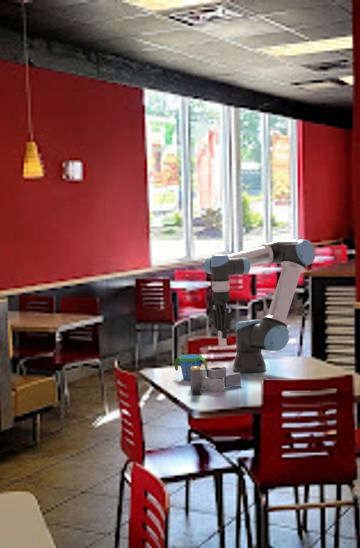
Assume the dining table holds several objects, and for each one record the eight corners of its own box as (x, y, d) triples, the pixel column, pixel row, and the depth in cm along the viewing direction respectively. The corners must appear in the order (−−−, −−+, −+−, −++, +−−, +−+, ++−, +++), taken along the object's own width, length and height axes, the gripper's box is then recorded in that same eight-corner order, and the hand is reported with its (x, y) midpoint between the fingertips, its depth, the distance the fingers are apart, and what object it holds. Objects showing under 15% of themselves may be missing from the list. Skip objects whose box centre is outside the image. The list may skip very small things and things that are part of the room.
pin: (192, 393, 338) (191, 366, 337) (201, 393, 338) (200, 366, 337) (191, 395, 335) (190, 368, 334) (200, 395, 334) (199, 367, 334)
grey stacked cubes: (215, 391, 340) (214, 370, 339) (206, 389, 344) (206, 368, 344) (244, 385, 349) (243, 365, 348) (235, 383, 353) (235, 363, 353)
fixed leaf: (193, 388, 347) (192, 367, 347) (223, 388, 346) (223, 367, 346) (192, 391, 342) (191, 370, 341) (223, 391, 341) (222, 369, 340)
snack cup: (170, 379, 369) (169, 356, 368) (183, 375, 377) (182, 353, 377) (199, 382, 360) (198, 359, 359) (212, 378, 368) (211, 355, 368)
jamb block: (191, 387, 350) (190, 366, 349) (205, 387, 349) (205, 366, 349) (190, 389, 345) (190, 369, 344) (205, 389, 345) (204, 368, 344)
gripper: (204, 290, 357) (206, 344, 358) (222, 292, 345) (224, 348, 347) (219, 289, 361) (220, 342, 362) (237, 291, 349) (239, 346, 351)
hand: (222, 345), depth 355 cm, fingers closed
